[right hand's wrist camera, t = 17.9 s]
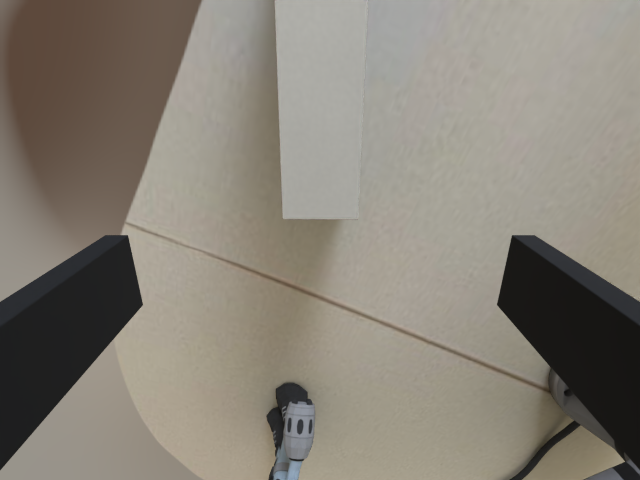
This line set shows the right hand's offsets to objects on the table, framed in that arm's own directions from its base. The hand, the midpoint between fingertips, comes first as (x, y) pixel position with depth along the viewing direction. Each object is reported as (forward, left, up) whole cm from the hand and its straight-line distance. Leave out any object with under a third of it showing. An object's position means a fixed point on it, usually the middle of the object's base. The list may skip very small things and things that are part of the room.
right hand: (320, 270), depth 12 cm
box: (+7, +5, -25) cm, 26 cm away
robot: (-29, -16, -25) cm, 41 cm away
